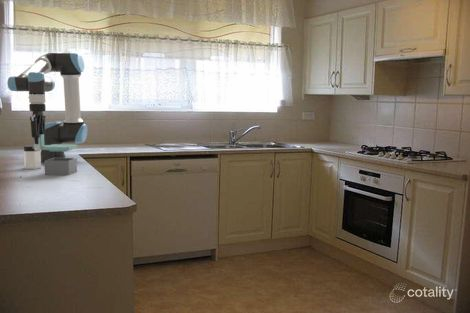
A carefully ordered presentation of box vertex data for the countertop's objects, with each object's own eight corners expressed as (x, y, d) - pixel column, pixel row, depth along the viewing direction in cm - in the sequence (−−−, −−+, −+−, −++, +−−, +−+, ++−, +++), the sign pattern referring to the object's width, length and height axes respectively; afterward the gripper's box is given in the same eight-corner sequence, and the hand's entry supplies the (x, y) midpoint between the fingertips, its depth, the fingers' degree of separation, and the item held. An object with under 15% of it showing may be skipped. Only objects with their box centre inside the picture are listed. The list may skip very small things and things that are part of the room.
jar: (43, 166, 275) (42, 145, 273) (39, 168, 267) (38, 146, 265) (26, 166, 274) (25, 145, 272) (21, 169, 266) (20, 146, 264)
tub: (54, 171, 259) (53, 157, 258) (77, 171, 259) (76, 158, 258) (44, 174, 247) (44, 160, 246) (68, 174, 247) (68, 160, 246)
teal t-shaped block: (39, 148, 258) (39, 133, 257) (77, 149, 258) (77, 133, 257) (28, 151, 246) (28, 135, 245) (69, 152, 245) (68, 136, 244)
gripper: (36, 103, 257) (38, 148, 260) (22, 103, 241) (24, 151, 244) (51, 103, 257) (52, 148, 260) (37, 103, 241) (39, 152, 244)
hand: (39, 149), depth 252 cm, fingers closed on teal t-shaped block, 3 cm apart
